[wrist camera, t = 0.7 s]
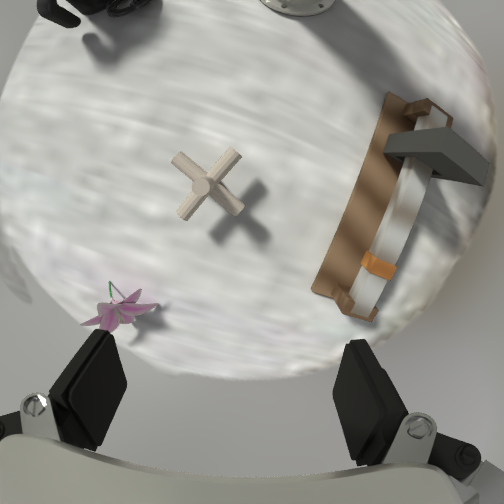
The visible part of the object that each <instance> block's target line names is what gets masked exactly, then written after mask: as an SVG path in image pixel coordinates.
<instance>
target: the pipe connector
mask: <svg viewBox="0 0 504 504" xmlns="http://www.w3.org/2000/svg"><path fill="white" fill-rule="evenodd" d="M241 158H242V156H241V155H240V154H239V153H238V152H236V151H235V150H234V149H233V148H232V147H230V148H229V149H228V150H227V151H226V152H225V153H224V154H223V156H222V157H221V158H220V159H219V160H218V161H217V162H216V163H215V165H214V166H213V167H212V168H211V169H210V170H209V172H208V173H207V172H205V171H204V170H203V169H202V168H201V167H200V166H198V165H197V164H196V163H195V162H194V161H192V160H191V159H190V158H189V157H187V156H186V155H185V154H184V153H183V152H179V153H178V154H177V155H176V156H175V157H174V158H173V160H172V162H171V163H172V164H173V165H174V166H175V167H177V168H178V169H179V170H180V171H181V172H183V173H184V174H185V175H186V176H187V177H189V178H190V179H191V180H192V181H193V183H192V192H191V193H190V194H189V196H188V197H187V198H186V199H185V201H184V202H183V203H182V204H181V206H180V207H179V208H178V209H177V211H176V213H177V215H178V216H179V217H180V218H182V219H183V220H185V221H188V219H189V218H190V217H191V216H192V215H193V213H194V212H195V211H196V210H197V208H198V207H199V206H200V205H201V204H202V202H203V201H204V200H205V199H206V198H207V197H208V195H210V196H211V197H212V198H213V199H215V200H216V201H217V202H218V203H219V204H221V205H222V206H223V207H224V208H225V209H226V210H228V211H229V212H230V213H231V214H232V215H233V216H235V217H236V216H237V215H238V214H239V213H240V212H241V211H242V209H243V208H244V207H245V205H244V204H243V203H242V202H241V201H240V200H238V199H237V198H236V197H235V196H234V195H233V194H231V193H230V192H229V191H228V190H227V189H226V188H224V187H223V186H222V185H221V184H220V181H221V180H222V179H223V178H224V177H225V176H226V174H227V173H228V172H229V171H230V170H231V169H232V168H233V167H234V165H235V164H236V163H237V162H238V161H239V160H240V159H241Z"/></svg>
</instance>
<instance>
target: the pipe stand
mask: <svg viewBox="0 0 504 504" xmlns="http://www.w3.org/2000/svg"><path fill="white" fill-rule="evenodd" d="M452 121H453V117H451V116H450V115H449V114H448V113H446V112H445V111H444V110H443V109H441V108H440V107H439V106H437V105H436V104H435V103H433V102H432V101H430V100H429V99H428V98H426V99H423V100H419V101H416V102H412V103H407V102H405V101H404V100H402V99H401V98H399V97H397V96H396V95H394V94H393V93H391V92H388V93H387V94H386V98H385V101H384V104H383V107H382V110H381V113H380V117H379V120H378V123H377V126H376V129H375V132H374V135H373V137H372V140H371V143H370V146H369V149H368V152H367V155H366V157H365V160H364V163H363V166H362V168H361V171H360V174H359V176H358V179H357V181H356V184H355V187H354V189H353V192H352V194H351V197H350V199H349V202H348V204H347V207H346V209H345V212H344V214H343V217H342V219H341V222H340V224H339V226H338V229H337V231H336V233H335V236H334V238H333V240H332V243H331V245H330V247H329V250H328V252H327V254H326V256H325V259H324V261H323V263H322V265H321V268H320V270H319V272H318V274H317V276H316V278H315V281H314V283H313V285H312V287H311V290H312V292H315V293H318V294H321V295H325V296H328V297H331V298H333V299H334V300H335V302H336V304H337V305H338V307H339V309H340V311H341V312H342V314H344V315H348V316H351V317H355V318H358V319H362V320H365V321H369V322H372V321H373V319H374V317H375V316H376V314H377V312H378V309H377V308H376V306H375V304H376V302H377V300H378V298H379V297H380V295H381V293H382V291H383V289H384V287H385V285H386V283H387V281H388V280H390V281H391V279H392V277H393V274H394V272H395V270H396V268H397V267H396V266H395V264H396V262H397V260H398V258H399V256H400V254H401V251H402V249H403V247H404V245H405V242H406V240H407V238H408V236H409V233H410V231H411V228H412V226H413V224H414V221H415V219H416V216H417V213H418V211H419V208H420V206H421V203H422V200H423V198H424V195H425V192H426V189H427V186H428V183H429V181H430V178H431V175H432V171H433V169H432V168H431V167H429V166H428V165H426V164H425V163H423V162H422V161H420V160H419V159H417V158H416V157H405V160H404V163H403V164H402V163H400V162H398V161H397V160H395V159H393V158H391V157H390V156H388V155H386V154H384V153H383V151H384V148H385V145H386V142H387V139H388V136H389V134H394V133H400V132H407V131H415V130H422V129H431V128H439V127H449V128H450V129H451V125H452Z"/></svg>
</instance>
